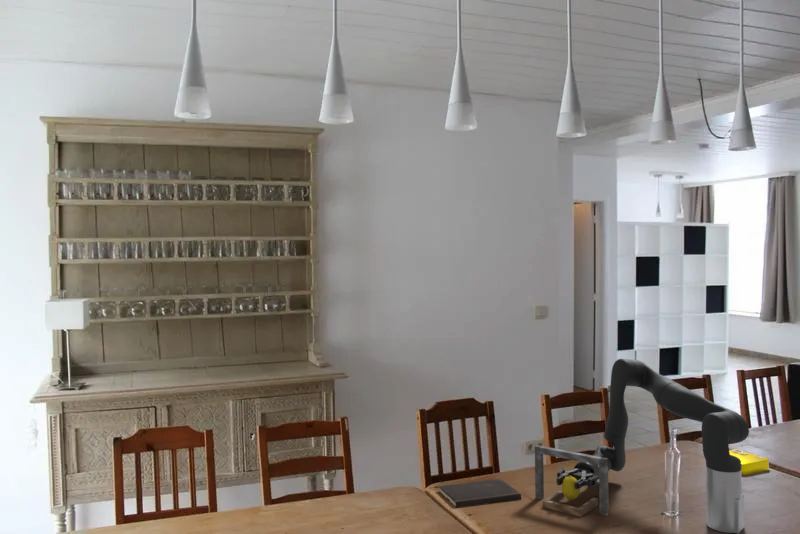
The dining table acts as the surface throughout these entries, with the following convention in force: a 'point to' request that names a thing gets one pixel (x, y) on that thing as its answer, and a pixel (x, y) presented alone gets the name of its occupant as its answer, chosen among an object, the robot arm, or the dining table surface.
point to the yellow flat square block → (750, 462)
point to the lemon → (570, 488)
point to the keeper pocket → (552, 500)
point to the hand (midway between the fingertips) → (567, 483)
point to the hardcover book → (479, 492)
